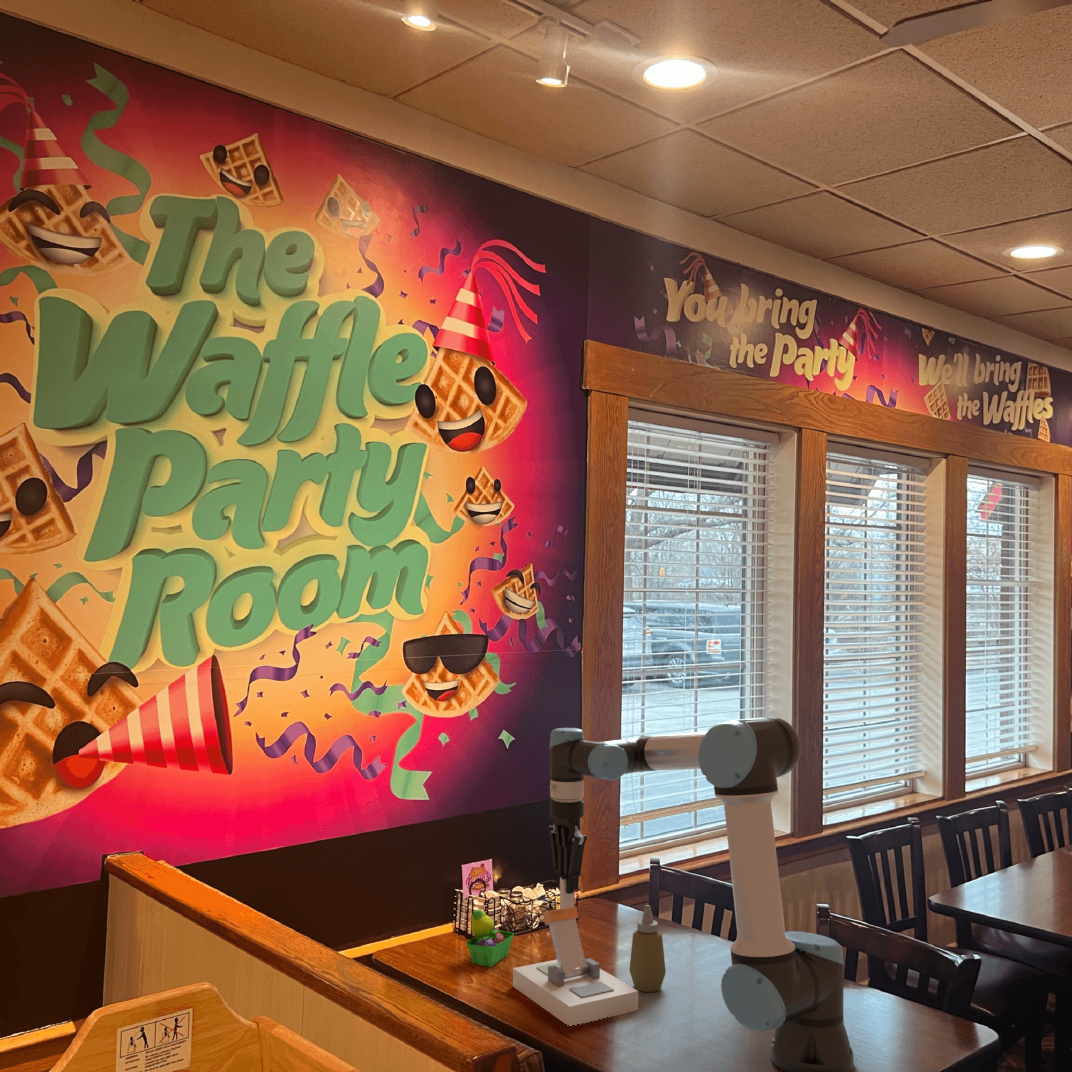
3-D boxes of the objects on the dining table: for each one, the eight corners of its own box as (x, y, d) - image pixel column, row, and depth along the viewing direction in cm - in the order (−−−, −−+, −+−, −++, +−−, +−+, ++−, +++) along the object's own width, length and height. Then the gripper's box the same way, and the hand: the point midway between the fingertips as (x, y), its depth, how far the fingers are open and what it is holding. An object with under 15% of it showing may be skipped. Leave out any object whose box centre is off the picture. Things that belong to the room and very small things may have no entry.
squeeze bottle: (664, 996, 222) (664, 912, 223) (627, 993, 224) (627, 910, 225) (666, 982, 230) (667, 901, 231) (631, 979, 232) (631, 899, 233)
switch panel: (638, 1010, 215) (638, 976, 215) (569, 1026, 206) (569, 991, 207) (577, 972, 236) (577, 942, 236) (512, 986, 227) (513, 954, 228)
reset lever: (592, 972, 222) (576, 905, 228) (563, 978, 218) (548, 910, 225) (586, 975, 224) (570, 908, 230) (557, 981, 220) (542, 913, 227)
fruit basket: (493, 970, 237) (493, 920, 238) (460, 963, 241) (460, 915, 242) (515, 954, 247) (515, 907, 248) (483, 948, 251) (483, 902, 252)
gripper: (537, 795, 230) (537, 902, 229) (567, 805, 219) (568, 917, 217) (565, 792, 234) (565, 897, 232) (597, 802, 223) (597, 912, 221)
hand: (566, 907), depth 225 cm, fingers closed
